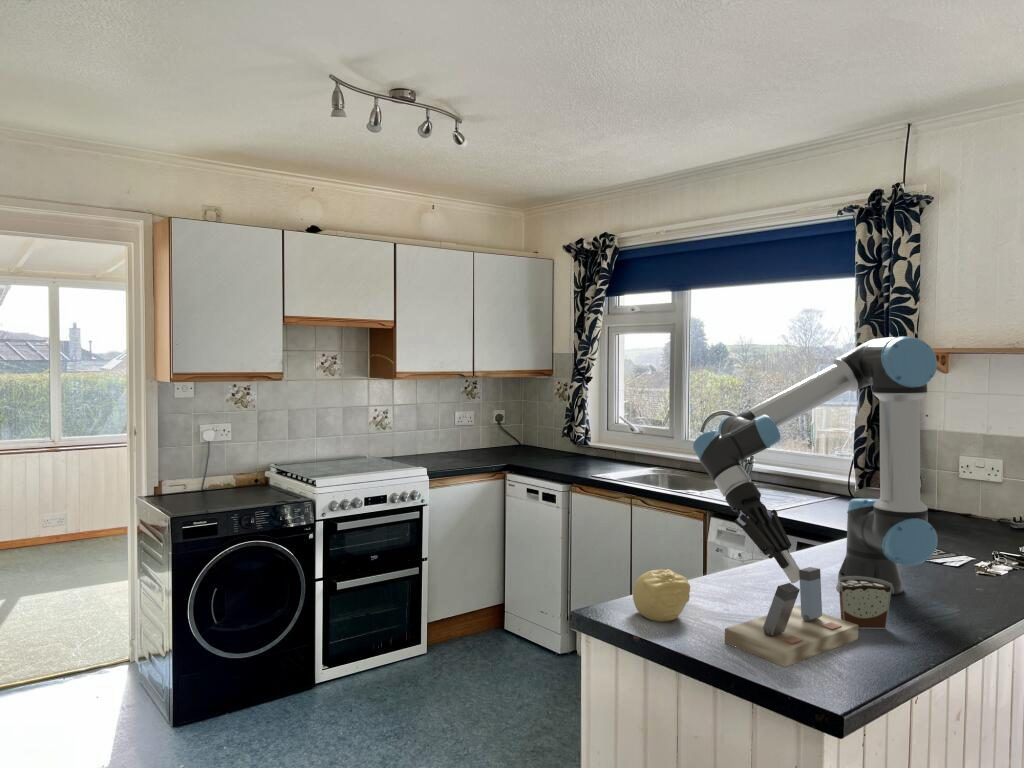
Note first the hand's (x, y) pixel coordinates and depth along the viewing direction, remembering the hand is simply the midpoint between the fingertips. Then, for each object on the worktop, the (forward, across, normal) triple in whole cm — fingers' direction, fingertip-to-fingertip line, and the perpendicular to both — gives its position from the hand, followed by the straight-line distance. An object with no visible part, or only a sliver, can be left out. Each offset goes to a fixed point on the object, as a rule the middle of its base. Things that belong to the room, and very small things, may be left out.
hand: (798, 579), depth 158 cm
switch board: (+10, +6, -5) cm, 13 cm away
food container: (+12, -16, -4) cm, 20 cm away
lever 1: (+8, +13, -3) cm, 16 cm away
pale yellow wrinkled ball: (-7, +20, -23) cm, 31 cm away
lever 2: (+8, -1, -3) cm, 9 cm away
